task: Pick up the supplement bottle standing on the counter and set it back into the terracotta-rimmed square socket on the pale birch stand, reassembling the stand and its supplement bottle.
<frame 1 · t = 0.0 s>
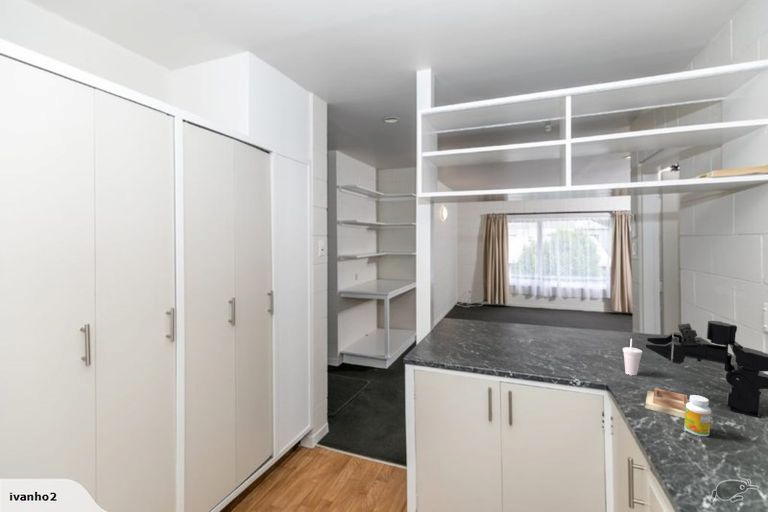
hand: (646, 342, 127), 17 cm above the worktop, tool horizontal, fingers open, 9 cm apart
supplement bottle: (696, 432, 101), on the worktop
birch stand: (669, 406, 115), on the worktop
smoothie: (631, 374, 141), on the worktop
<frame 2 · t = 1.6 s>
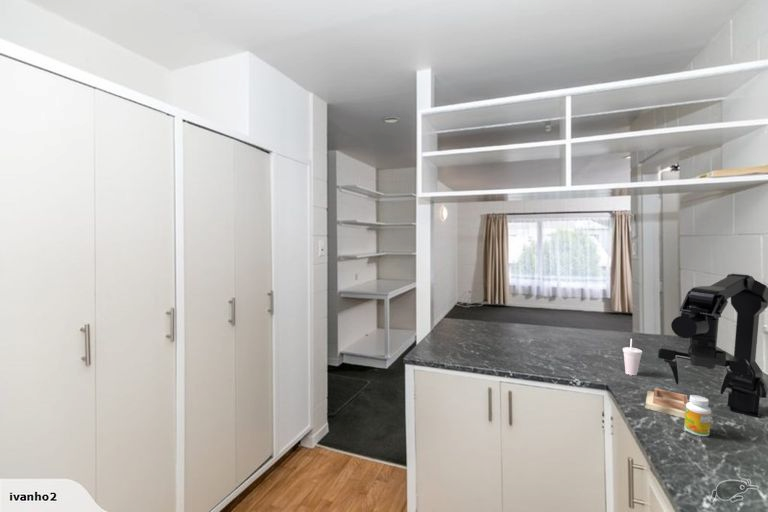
hand: (698, 388, 100), 12 cm above the worktop, tool pointing down, fingers open, 9 cm apart
nothing on the worktop moved.
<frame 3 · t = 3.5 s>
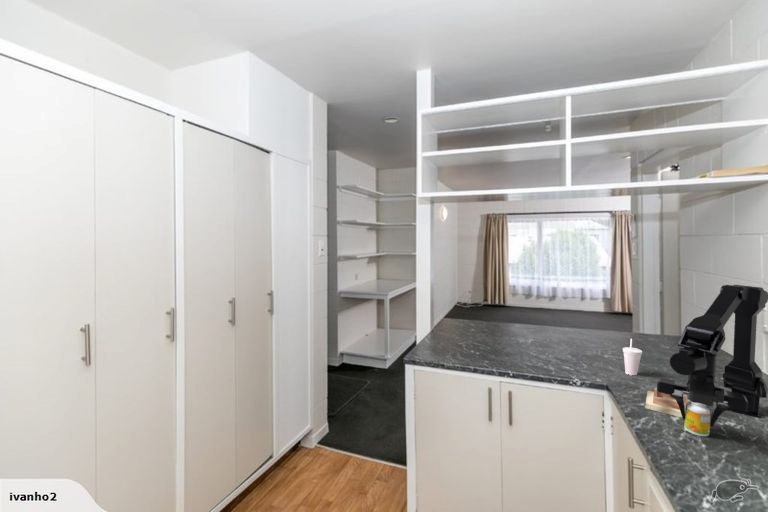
hand: (697, 422, 101), 3 cm above the worktop, tool pointing down, fingers closed on supplement bottle, 5 cm apart
supplement bottle: (696, 432, 101), on the worktop, touching gripper
everything else where it was.
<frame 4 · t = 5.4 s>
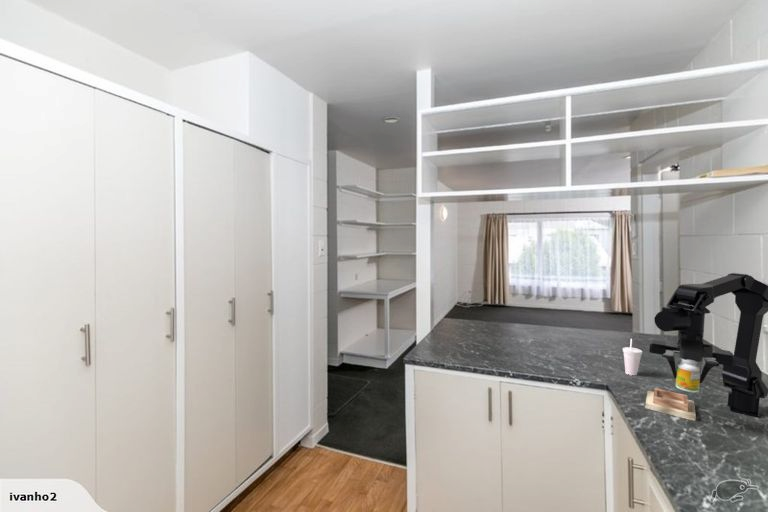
hand: (687, 380, 106), 12 cm above the worktop, tool pointing down, fingers closed on supplement bottle, 5 cm apart
supplement bottle: (687, 389, 106), point 9 cm above the worktop, touching gripper
everything else where it was.
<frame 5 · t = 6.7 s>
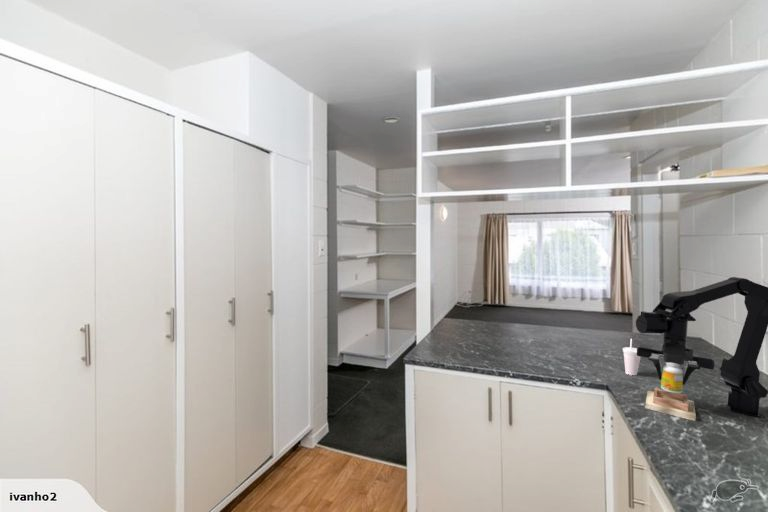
hand: (671, 382, 114), 8 cm above the worktop, tool pointing down, fingers closed on supplement bottle, 5 cm apart
supplement bottle: (671, 390, 114), point 5 cm above the worktop, touching gripper
everything else where it was.
when the fingers open (5 cm above the worktop, at t = 7.6 s): supplement bottle drops 1 cm, resting on birch stand.
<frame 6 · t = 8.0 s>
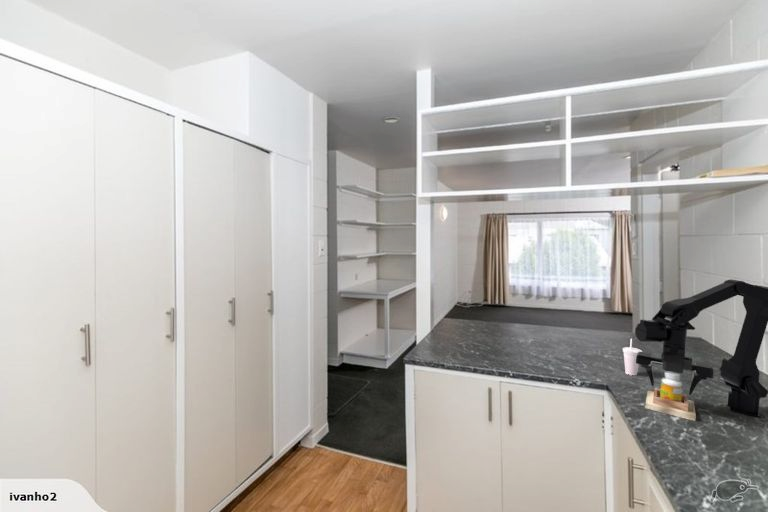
hand: (670, 390, 114), 5 cm above the worktop, tool pointing down, fingers open, 9 cm apart
supplement bottle: (670, 403, 114), point 1 cm above the worktop, touching birch stand
everything else where it was.
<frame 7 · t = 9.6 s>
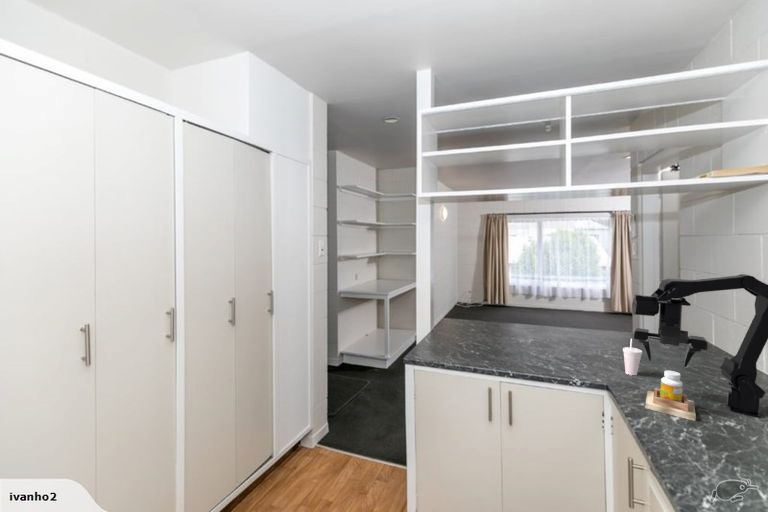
hand: (667, 363, 120), 12 cm above the worktop, tool pointing down, fingers open, 9 cm apart
nothing on the worktop moved.
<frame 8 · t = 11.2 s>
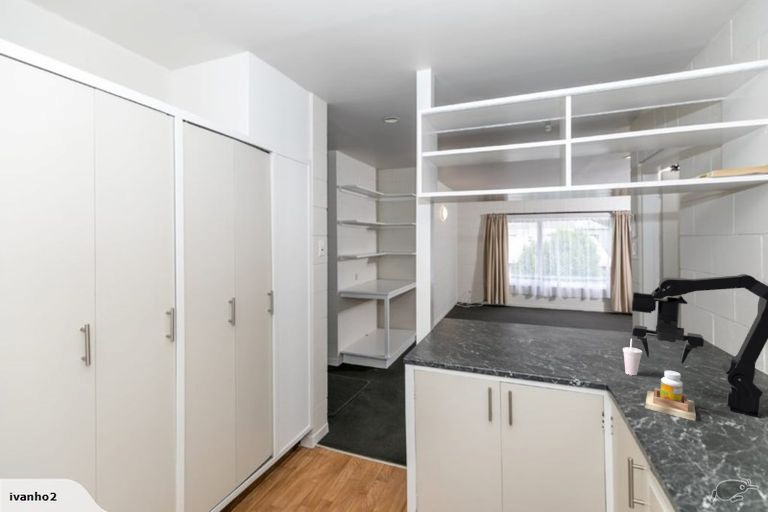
hand: (664, 360, 123), 12 cm above the worktop, tool pointing down, fingers open, 9 cm apart
nothing on the worktop moved.
at the end: supplement bottle 0.1 cm off-centre on the birch stand, point 1.3 cm above the birch stand's base; supplement bottle tilted 0°; the gripper is holding nothing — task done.
